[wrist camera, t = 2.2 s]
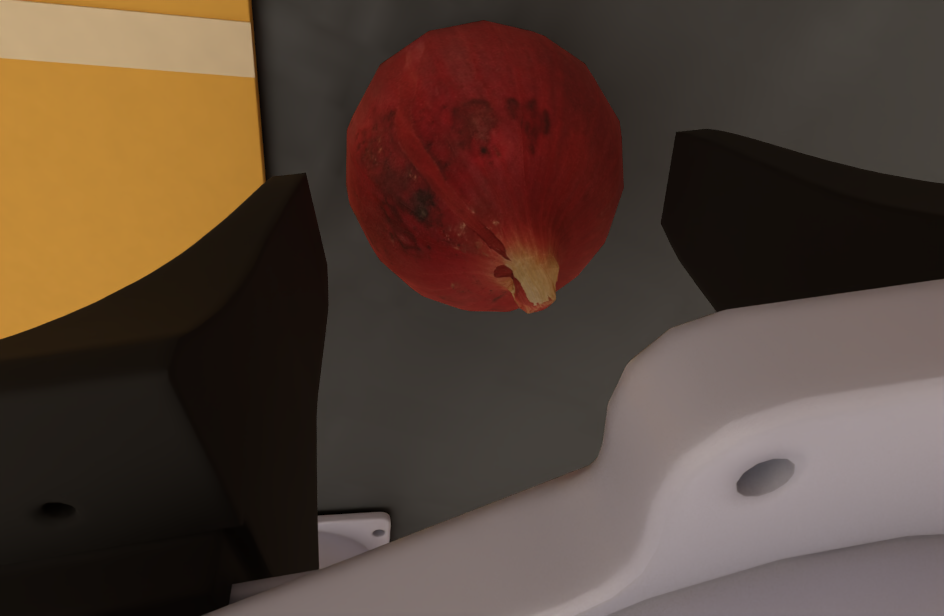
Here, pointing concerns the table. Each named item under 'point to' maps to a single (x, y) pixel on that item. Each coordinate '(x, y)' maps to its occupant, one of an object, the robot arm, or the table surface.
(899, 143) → the table surface
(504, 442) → the table surface
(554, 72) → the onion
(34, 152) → the towel
